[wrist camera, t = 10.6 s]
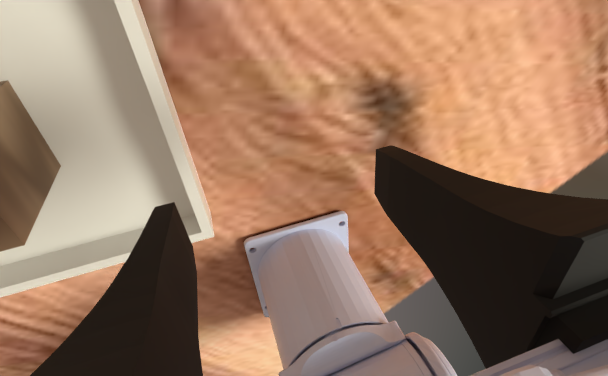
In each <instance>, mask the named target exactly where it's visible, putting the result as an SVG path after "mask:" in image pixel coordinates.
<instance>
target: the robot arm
mask: <svg viewBox="0 0 608 376" xmlns="http://www.w3.org/2000/svg"><path fill="white" fill-rule="evenodd" d="M375 195H376V197H377V199H378V201H379V202H380V204H381V206H382V208H383V209H384V211H385V213H386V214H387V216H388V217H389V218H390V220H391V221H392V222H393V223H394V225H395V226H396V227H397V228H398V230H399V231H400V232H401V233H402V235H403V236H404V237H405V238H406V240H407V241H408V242H409V243H410V245H411V246H412V247H413V248H414V250H415V251H416V252H417V253H418V255H419V256H420V257H421V258H422V260H423V261H424V262H425V264H426V265H427V267H428V268H429V269H430V271H431V273H432V274H433V276H434V277H435V279H436V280H437V282H438V284H439V285H440V287H441V288H442V290H443V292H444V293H445V295H446V297H447V298H448V300H449V301H450V303H451V305H452V307H453V308H454V310H455V312H456V313H457V315H458V317H459V319H460V321H461V322H462V324H463V326H464V328H465V330H466V331H467V333H468V335H469V337H470V339H471V340H472V342H473V344H474V346H475V348H476V350H477V352H478V354H479V356H480V358H481V360H482V362H483V364H484V366H485V368H486V369H485V370H482V371H480V372H478V373H475V374H473V375H470V376H608V200H606V199H593V198H580V197H571V196H564V195H556V194H549V193H543V192H537V191H532V190H527V189H521V188H516V187H512V186H507V185H503V184H499V183H496V182H492V181H488V180H484V179H481V178H478V177H474V176H471V175H468V174H465V173H462V172H459V171H456V170H454V169H451V168H448V167H446V166H443V165H440V164H438V163H435V162H433V161H430V160H428V159H425V158H423V157H420V156H418V155H416V154H413V153H411V152H408V151H406V150H403V149H400V148H398V147H395V146H387V147H383V148H380V149H376V166H375ZM341 221H342V222H341ZM340 222H341V223H340ZM244 247H245V251H246V254H247V258H248V261H249V265H250V268H251V272H252V275H253V279H254V282H255V286H256V289H257V293H258V296H259V300H260V303H261V307H262V310H263V313H264V316H265V317H270V321H271V325H272V329H273V332H274V336H275V340H276V343H277V347H278V351H279V354H280V358H281V362H282V365H283V369H284V370H282V371H281V372H279V376H457V374H456V373H455V371H454V369H453V368H452V366H451V365H450V363H449V362H448V360H447V359H446V358H445V356H444V355H443V354H442V352H441V351H440V350H439V349H438V348H437V346H436V345H435V344H434V343H433V342H431V341H430V340H429V339H427V338H424V337H422V336H420V335H419V334H417V333H415V332H412V333H409V334H407V335H404V334H403V332H402V331H401V329H400V328H399V326H398V324H397V322H396V321H391V322H389V323H388V321H387V319H386V317H385V316H384V314H383V312H382V310H381V309H380V307H379V305H378V304H377V302H376V300H375V298H374V297H373V295H372V293H371V291H370V290H369V288H368V286H367V284H366V283H365V281H364V279H363V277H362V276H361V274H360V272H359V271H358V269H357V267H356V265H355V264H354V262H353V260H352V258H351V257H350V255H349V246H348V216H347V214H346V213H345V212H344V211H339V212H335V213H332V214H329V215H325V216H322V217H318V218H315V219H311V220H308V221H305V222H301V223H298V224H294V225H291V226H287V227H284V228H280V229H277V230H274V231H270V232H267V233H263V234H260V235H256V236H253V237H249V238H247V239H246V240H245V241H244ZM251 248H254V249H251ZM30 376H203V373H202V366H201V358H200V350H199V339H198V307H197V271H196V265H195V258H194V252H193V246H192V243H191V241H190V239H189V236H188V234H187V231H186V229H185V226H184V224H183V222H182V219H181V217H180V214H179V212H178V210H177V207H176V205H175V202H172V203H168V204H165V205H161V206H157V207H155V208H154V209H153V211H152V213H151V215H150V217H149V219H148V221H147V223H146V225H145V227H144V229H143V231H142V233H141V235H140V237H139V239H138V241H137V243H136V244H135V246H134V248H133V250H132V252H131V253H130V255H129V257H128V259H127V260H126V262H125V263H124V265H123V267H122V268H121V270H120V271H119V273H118V275H117V276H116V278H115V279H114V281H113V282H112V284H111V285H110V287H109V288H108V290H107V291H106V292H105V294H104V295H103V296H102V298H101V299H100V300H99V302H98V303H97V304H96V305H95V307H94V308H93V309H92V310H91V312H90V313H89V314H88V315H87V316H86V317H85V319H84V320H83V321H82V322H81V323H80V324H79V325H78V327H77V328H76V329H75V330H74V331H73V332H72V333H71V335H70V336H69V337H68V338H67V339H66V340H65V341H64V342H63V343H62V344H61V345H60V346H59V347H58V348H57V349H56V351H55V352H54V353H53V354H52V355H51V356H50V357H49V358H48V359H47V360H46V361H45V362H44V363H43V364H42V365H40V366H39V367H38V368H37V369H36V370H35V371H34V372H33V373H32V374H31V375H30Z"/></svg>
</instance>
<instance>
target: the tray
mask: <svg viewBox="0 0 608 376" xmlns="http://www.w3.org/2000/svg"><path fill="white" fill-rule="evenodd" d="M7 80H8V81H9V83H10V84H11V86H12V88H13V89H14V91H15V92H16V94H17V96H18V97H19V99H20V100H21V102H22V104H23V105H24V107H25V109H26V110H27V112H28V113H29V115H30V117H31V118H32V120H33V121H34V123H35V125H36V126H37V128H38V129H39V131H40V133H41V134H42V136H43V138H44V139H45V141H46V142H47V144H48V146H49V147H50V149H51V150H52V152H53V154H54V155H55V157H56V158H57V160H58V162H59V163H60V165H61V167H60V169H59V171H58V174H57V176H56V178H55V180H54V182H53V184H52V187H51V189H50V191H49V193H48V195H47V197H46V200H45V202H44V204H43V206H42V208H41V210H40V213H39V215H38V217H37V219H36V221H35V224H34V226H33V228H32V230H31V232H30V234H29V237H28V239H27V241H26V243H25V245H24V246H20V247H16V248H12V249H8V250H5V251H1V252H0V297H4V296H7V295H11V294H14V293H18V292H21V291H25V290H28V289H32V288H36V287H39V286H43V285H46V284H50V283H53V282H57V281H60V280H64V279H67V278H71V277H74V276H78V275H81V274H85V273H88V272H92V271H95V270H99V269H102V268H106V267H109V266H113V265H116V264H120V263H123V262H126V260H127V259H128V257H129V255H130V253H131V252H132V250H133V248H134V246H135V244H136V243H137V241H138V239H139V237H140V235H141V233H142V231H143V229H144V227H145V225H146V223H147V221H148V219H149V217H150V215H151V213H152V211H153V209H154V208H155V207H157V206H161V205H165V204H168V203H172V202H175V205H176V207H177V210H178V212H179V214H180V217H181V219H182V222H183V224H184V226H185V229H186V231H187V234H188V236H189V239H190V241H191V243H194V242H197V241H201V240H204V239H208V238H211V237H214V231H213V225H212V219H211V212H210V209H209V206H208V203H207V200H206V197H205V194H204V191H203V188H202V186H201V183H200V180H199V177H198V174H197V171H196V168H195V165H194V162H193V159H192V156H191V153H190V150H189V147H188V144H187V142H186V139H185V136H184V133H183V130H182V127H181V124H180V121H179V118H178V115H177V112H176V109H175V106H174V103H173V101H172V98H171V95H170V92H169V89H168V86H167V83H166V80H165V77H164V74H163V71H162V68H161V65H160V62H159V59H158V57H157V54H156V51H155V48H154V45H153V42H152V39H151V36H150V33H149V30H148V27H147V24H146V21H145V18H144V16H143V13H142V10H141V7H140V4H139V1H138V0H0V82H1V81H7Z"/></svg>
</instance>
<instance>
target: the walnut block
mask: <svg viewBox="0 0 608 376" xmlns="http://www.w3.org/2000/svg"><path fill="white" fill-rule="evenodd" d="M60 167H61V165H60V163H59V162H58V160H57V158H56V157H55V155H54V154H53V152H52V150H51V149H50V147H49V146H48V144H47V142H46V141H45V139H44V138H43V136H42V134H41V133H40V131H39V129H38V128H37V126H36V125H35V123H34V121H33V120H32V118H31V117H30V115H29V113H28V112H27V110H26V109H25V107H24V105H23V104H22V102H21V100H20V99H19V97H18V96H17V94H16V92H15V91H14V89H13V88H12V86H11V84H10V83H9V81H8V80H7V81H1V82H0V252H1V251H5V250H8V249H12V248H16V247H20V246H24V245H25V243H26V241H27V239H28V237H29V234H30V232H31V230H32V228H33V226H34V224H35V221H36V219H37V217H38V215H39V213H40V210H41V208H42V206H43V204H44V202H45V200H46V197H47V195H48V193H49V191H50V189H51V187H52V184H53V182H54V180H55V178H56V176H57V174H58V171H59V169H60Z"/></svg>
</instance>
